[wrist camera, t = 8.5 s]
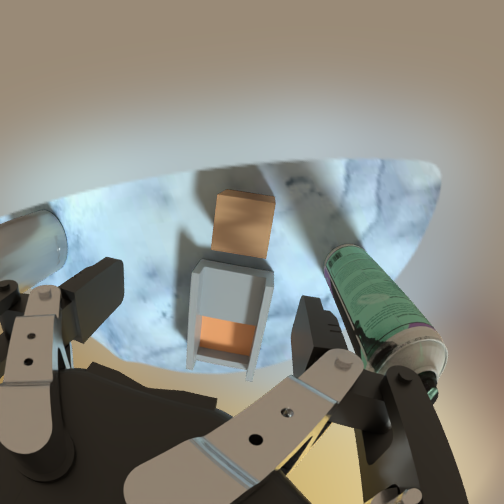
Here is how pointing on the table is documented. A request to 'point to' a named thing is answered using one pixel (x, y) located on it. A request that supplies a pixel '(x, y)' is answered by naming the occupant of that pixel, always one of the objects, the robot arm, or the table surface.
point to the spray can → (383, 318)
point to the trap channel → (227, 314)
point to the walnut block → (243, 223)
